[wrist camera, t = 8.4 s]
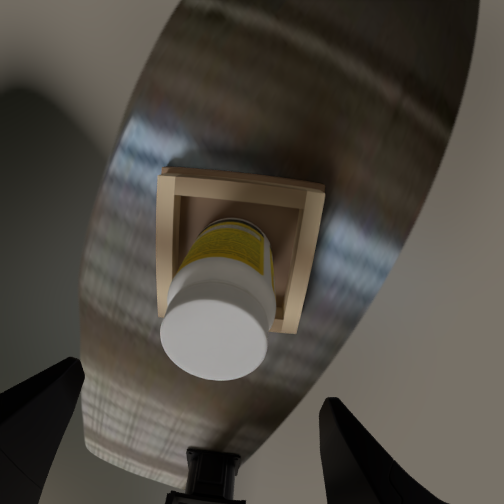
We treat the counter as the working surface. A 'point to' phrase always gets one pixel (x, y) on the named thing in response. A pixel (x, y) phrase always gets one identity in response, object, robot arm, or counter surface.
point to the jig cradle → (248, 208)
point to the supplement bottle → (221, 302)
